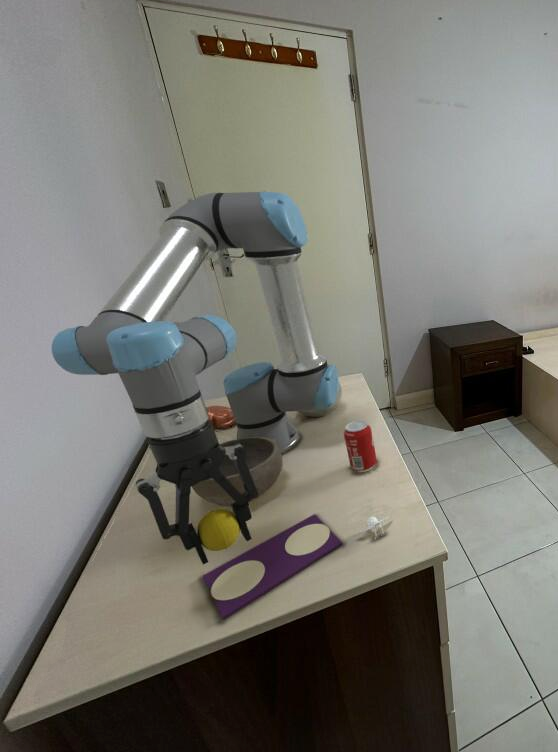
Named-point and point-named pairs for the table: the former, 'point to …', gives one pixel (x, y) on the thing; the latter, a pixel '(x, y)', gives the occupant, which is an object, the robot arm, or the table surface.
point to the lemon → (218, 529)
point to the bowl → (260, 462)
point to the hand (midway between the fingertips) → (225, 547)
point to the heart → (220, 416)
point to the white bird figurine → (373, 525)
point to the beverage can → (360, 446)
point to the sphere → (325, 410)
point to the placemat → (269, 564)
